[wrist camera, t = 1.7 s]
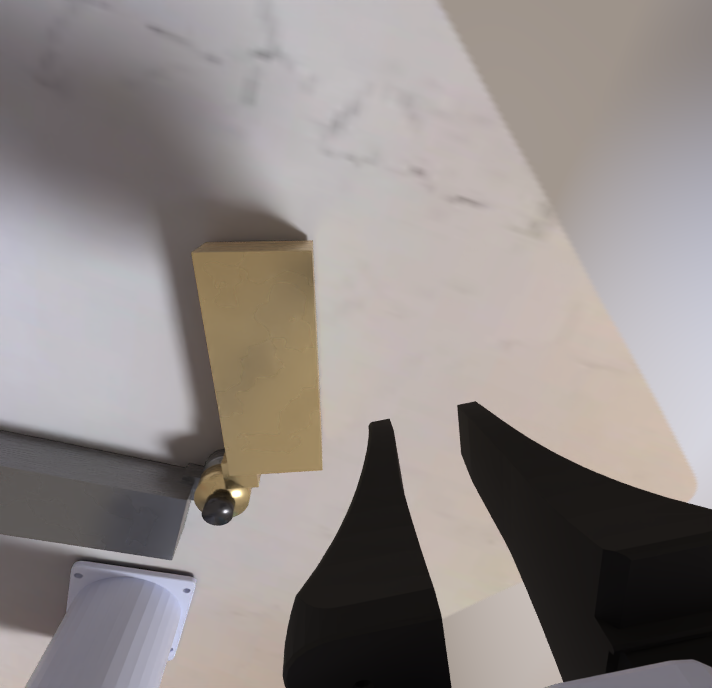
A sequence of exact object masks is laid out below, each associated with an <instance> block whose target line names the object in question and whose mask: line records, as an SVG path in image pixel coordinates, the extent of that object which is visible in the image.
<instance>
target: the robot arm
mask: <svg viewBox="0 0 712 688" xmlns="http://www.w3.org/2000/svg"><path fill="white" fill-rule="evenodd" d="M457 407H458V420H459V432H460V444H461V454H462V457H463V459H464V462H465V465H466V467H467V470H468V472H469V475H470V477H471V480H472V482H473V484H474V486H475V487H476V489H477V491H478V493H479V495H480V497H481V499H482V500H483V502H484V504H485V506H486V508H487V509H488V511H489V513H490V515H491V517H492V519H493V520H494V522H495V524H496V526H497V528H498V530H499V531H500V533H501V535H502V537H503V539H504V540H505V542H506V544H507V546H508V548H509V550H510V552H511V554H512V557H513V559H514V561H515V564H516V566H517V568H518V571H519V573H520V575H521V578H522V580H523V582H524V585H525V587H526V589H527V591H528V594H529V597H530V599H531V601H532V604H533V606H534V609H535V611H536V614H537V616H538V618H539V620H540V623H541V626H542V628H543V631H544V633H545V636H546V638H547V641H548V644H549V646H550V649H551V651H552V654H553V656H554V659H555V661H556V664H557V666H558V669H559V672H560V674H561V677H562V680H563V683H558V684H554V685H551V686H548V687H545V688H712V509H708V508H705V507H701V506H697V505H693V504H689V503H686V502H682V501H678V500H674V499H670V498H667V497H663V496H660V495H657V494H654V493H651V492H648V491H645V490H642V489H638V488H635V487H633V486H630V485H627V484H624V483H621V482H619V481H616V480H614V479H611V478H609V477H606V476H604V475H601V474H599V473H596V472H594V471H592V470H589V469H587V468H585V467H582V466H580V465H578V464H576V463H574V462H572V461H570V460H568V459H566V458H564V457H562V456H560V455H558V454H556V453H554V452H552V451H550V450H549V449H547V448H545V447H543V446H542V445H540V444H538V443H536V442H535V441H533V440H531V439H530V438H528V437H526V436H525V435H523V434H522V433H520V432H519V431H517V430H516V429H514V428H513V427H511V426H510V425H508V424H507V423H505V422H504V421H502V420H501V419H500V418H498V417H497V416H495V415H494V414H493V413H491V412H490V411H488V410H487V409H486V408H484V407H483V406H481V405H480V404H478V403H477V402H476V401H475V402H470V403H465V404H460V405H457ZM196 583H197V580H196V579H195V578H194V577H190V576H184V575H177V574H170V573H163V572H156V571H149V570H143V569H136V568H129V567H122V566H115V565H109V564H102V563H95V562H88V561H77V562H75V563H74V565H73V566H72V568H71V574H70V583H69V591H68V599H67V607H66V615H65V616H64V618H63V620H62V622H61V623H60V625H59V627H58V629H57V631H56V632H55V634H54V636H53V638H52V640H51V641H50V643H49V645H48V647H47V648H46V650H45V652H44V654H43V656H42V657H41V659H40V661H39V663H38V664H37V666H36V668H35V670H34V672H33V673H32V675H31V677H30V679H29V681H28V682H27V684H26V686H25V688H159V686H160V683H161V680H162V676H163V673H164V670H165V666H166V663H167V661H169V660H172V659H173V658H174V657H175V653H176V650H177V647H178V643H179V640H180V637H181V633H182V630H183V627H184V623H185V620H186V616H187V613H188V610H189V606H190V603H191V600H192V596H193V593H194V590H195V586H196ZM283 680H284V684H285V687H286V688H451V681H450V673H449V667H448V659H447V652H446V645H445V638H444V630H443V623H442V617H441V612H440V609H439V605H438V601H437V598H436V594H435V590H434V587H433V584H432V581H431V578H430V575H429V572H428V569H427V566H426V563H425V560H424V557H423V554H422V551H421V548H420V545H419V542H418V538H417V535H416V532H415V529H414V525H413V522H412V519H411V515H410V512H409V509H408V505H407V502H406V498H405V495H404V489H403V483H402V477H401V471H400V465H399V459H398V453H397V447H396V441H395V435H394V430H393V427H392V424H391V422H390V419H385V420H380V421H375V422H371V423H370V425H369V438H368V446H367V452H366V456H365V461H364V465H363V469H362V473H361V476H360V479H359V482H358V486H357V489H356V491H355V494H354V497H353V500H352V502H351V504H350V507H349V509H348V512H347V514H346V516H345V518H344V520H343V522H342V524H341V526H340V528H339V530H338V532H337V534H336V536H335V538H334V540H333V541H332V543H331V545H330V546H329V548H328V550H327V551H326V553H325V555H324V556H323V558H322V560H321V561H320V563H319V564H318V566H317V567H316V569H315V570H314V572H313V573H312V575H311V576H310V577H309V579H308V580H307V581H306V583H305V584H304V586H303V587H302V588H301V590H300V591H299V592H298V594H297V595H296V597H295V601H294V604H293V608H292V611H291V615H290V620H289V624H288V629H287V635H286V641H285V649H284V664H283Z"/></svg>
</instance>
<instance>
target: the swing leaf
mask: <svg viewBox="0 0 712 688" xmlns="http://www.w3.org/2000/svg"><path fill="white" fill-rule="evenodd" d="M191 255H192V260H193V266H194V272H195V278H196V284H197V289H198V295H199V301H200V307H201V313H202V319H203V324H204V330H205V336H206V342H207V348H208V353H209V359H210V365H211V371H212V377H213V383H214V388H215V394H216V400H217V406H218V412H219V417H220V423H221V429H222V435H223V441H224V447H225V453H224V456H223V459H222V462H221V464H216V465H213V466H211V467H209V468H207V469H206V470H205V471H204V472H203V474H202V475H201V478H200V480H199V483H198V486H197V488H196V491H195V494H194V501H195V504H196V506H197V507H198V509H199V510H200V511H203V508H204V505H205V502H206V499H207V497H208V496H209V495H211V494H213V493H216V492H223V493H227V494H229V495H231V496H232V497H233V498H234V500H235V508H234V512H233V516H232V517H235V516H237V515H239V514H241V513H242V512H243V511H244V510H245V509H246V508H247V506H248V503H249V499H250V494H251V489H252V487H259V481H260V476H261V474H269V473H285V472H301V471H317V470H322V433H321V411H320V389H319V367H318V345H317V323H316V302H315V280H314V258H313V241H253V242H206V243H204V244H203V245H201V246H200V247H198V248H197V249H196V250H194V251H193V252H191Z"/></svg>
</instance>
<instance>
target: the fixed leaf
mask: <svg viewBox="0 0 712 688" xmlns="http://www.w3.org/2000/svg"><path fill="white" fill-rule="evenodd" d="M224 453H225V449H222V450H219V451H216V452H214V453H213V454H212V455H211V456H210V457H209V458H208V459H207V462H206V464H205V467H204V466H199V465H194V464H190V463H188V465H187V467H186V468H184V467H179V466H174V465H169V464H164V463H159V462H154V461H149V460H144V459H139V458H135V457H130V456H125V455H120V454H115V453H110V452H105V451H100V450H95V449H90V448H85V447H80V446H76V445H71V444H66V443H61V442H56V441H51V440H46V439H41V438H36V437H31V436H26V435H21V434H16V433H12V432H7V431H2V430H0V534H3V535H10V536H16V537H23V538H29V539H36V540H42V541H49V542H55V543H62V544H68V545H75V546H81V547H88V548H94V549H101V550H107V551H114V552H120V553H127V554H133V555H140V556H146V557H153V558H160V559H166V560H172V559H173V556H174V553H175V550H176V548H177V545H178V542H179V540H180V537H181V534H182V531H183V529H184V525H185V521H186V518H187V514H188V510H189V506H190V502H191V500H194V494H195V491H196V488H197V486H198V483H199V480H200V478H201V475H202V474H203V472H204V471H205V470H206V469H207V468H209V467H211V466H213V465H216V464H221V462H222V459H223V456H224ZM234 508H235V500H234V498H233V497H232V496H231V495H229V494H227V493H223V492H216V493H213V494H211V495H209V496H208V497H207V499H206V502H205V505H204V508H203V511H202V517H203V519H204V520H205V521H206V522H207V523H209V524H212V525H224V524H227V523H228V522H229V521H230V520H231V519H232V516H233V512H234Z"/></svg>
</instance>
